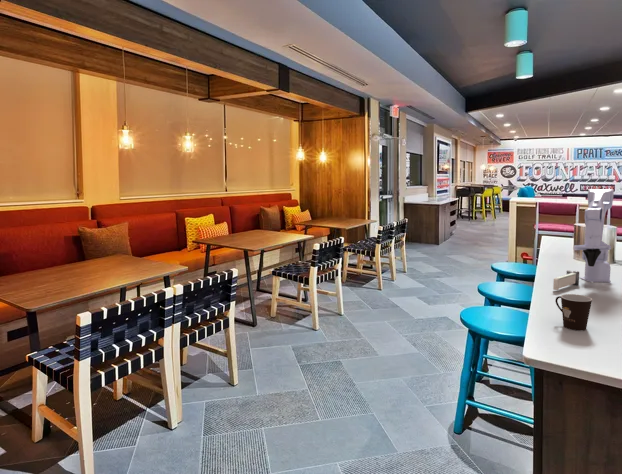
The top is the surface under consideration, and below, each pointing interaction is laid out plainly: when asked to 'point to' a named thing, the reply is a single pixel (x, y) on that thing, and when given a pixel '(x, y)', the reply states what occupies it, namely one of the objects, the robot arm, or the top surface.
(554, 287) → the gate
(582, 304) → the coffee mug
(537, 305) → the top surface
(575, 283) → the gate post
